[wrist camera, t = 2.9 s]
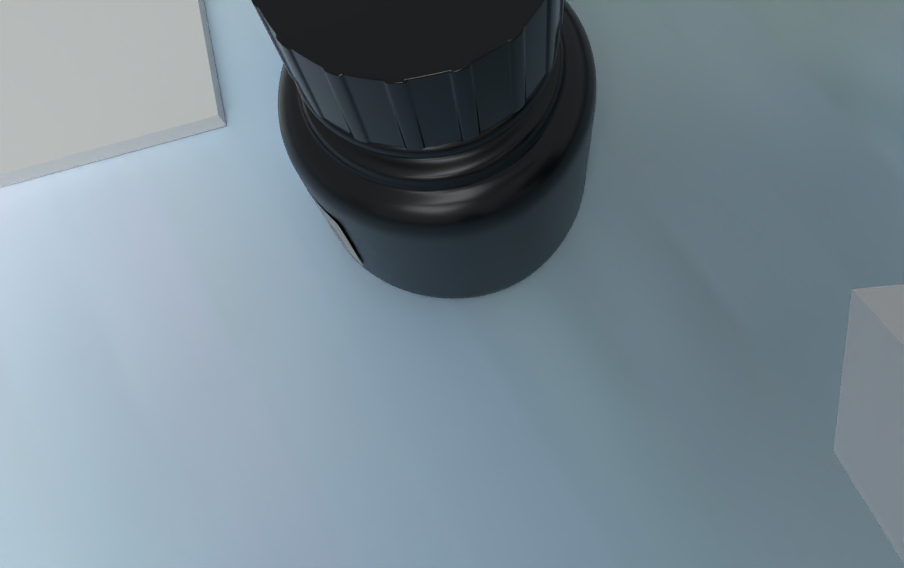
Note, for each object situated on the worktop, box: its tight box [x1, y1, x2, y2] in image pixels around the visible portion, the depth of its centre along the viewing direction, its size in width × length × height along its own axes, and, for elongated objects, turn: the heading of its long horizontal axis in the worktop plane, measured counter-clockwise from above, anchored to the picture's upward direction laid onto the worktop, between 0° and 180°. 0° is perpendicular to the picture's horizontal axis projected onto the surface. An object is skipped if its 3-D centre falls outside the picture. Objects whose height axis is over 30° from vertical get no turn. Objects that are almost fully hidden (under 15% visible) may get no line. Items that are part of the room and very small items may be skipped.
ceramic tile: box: [0, 0, 226, 187], centre depth 32 cm, size 13×13×1 cm
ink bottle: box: [251, 0, 596, 298], centre depth 23 cm, size 10×9×12 cm
